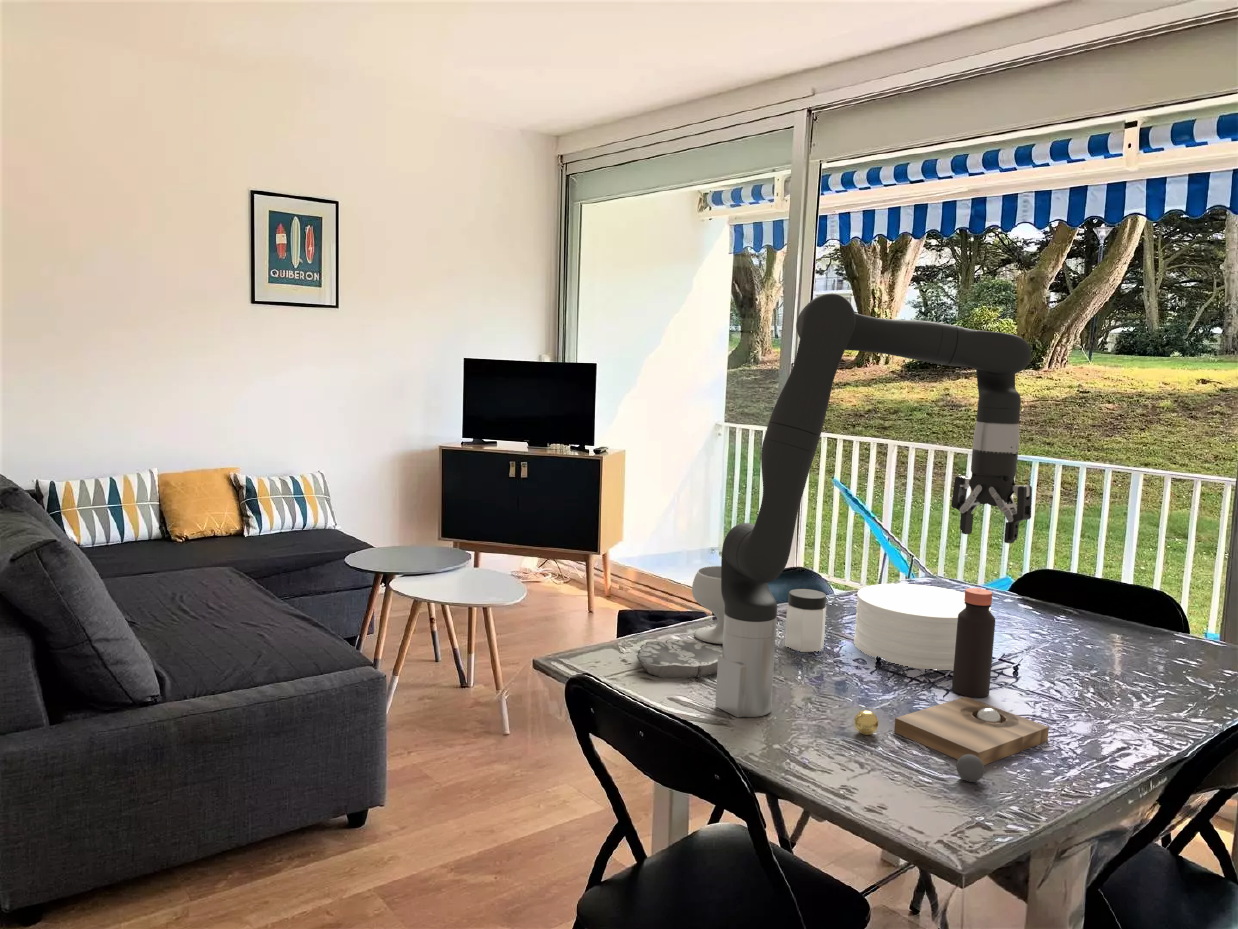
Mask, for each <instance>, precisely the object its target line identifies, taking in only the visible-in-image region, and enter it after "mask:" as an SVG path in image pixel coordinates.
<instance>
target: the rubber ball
mask: <svg viewBox="0 0 1238 929" xmlns="http://www.w3.org/2000/svg"><path fill="white" fill-rule="evenodd" d="M956 772H957V774H958V776H959V777H960V779H963V781H966V782H968V783H975V782H978V781H980V780H981V779H982V778H983V776H984V774H985V765H984V764H983V762H982V761H981V760H980V759H979V758H978V757H977V756H975V755H972V754H966V755H963V756H962V757H960V758H959V760H958V759H957V761H956Z"/></svg>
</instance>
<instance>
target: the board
mask: <svg viewBox="0 0 1238 929" xmlns="http://www.w3.org/2000/svg"><path fill="white" fill-rule="evenodd" d="M983 708H992V709H994V710H996V711H997V712H998V713H999V715H1000V717H1001V723H991V722H985V721H982V720H979V719H977V718H976V716H977V713H978V712H979V711H980V710H981V709H983ZM893 730H894V731H893V732H894V733H896V734H898V735H901V736H903V737H905V738H907V739H910V740H912V741H913V742H917V743H919V744H921V745H922V746H923V745H924V746H926V747H928V748H930V749H933V750H935V751H938V752H940V753H942V754H944V755H947V756H948V757H951V758H953V759H956V760H957V761H958V760H959V758H960V757H962V756H963V755H966V754H972V755H975V756H977V757H978V758H979V759H980V760H981V761H982V762H983V764H984V766H986V765H988V764H990V763H993V762H997V761H1000V760H1002V759H1005V758H1006V757H1010V756H1012V755H1014V754H1017V753H1019V752H1023V751H1026V750H1028V749H1030V748H1033V747H1036V746H1039V745H1041V744H1043V743H1047V742H1048V740H1049V730H1050V726H1047V725H1045V724H1042V723H1039V722H1036V721H1034V720H1031V719H1028V718H1026V717H1022V716H1020V715H1018V714H1015V713H1012V712H1010V711H1006V710H1004V709H1001V708H998V707H996V706H993V705H990V704H988V703H985V702H982V701H979V700H977V699H975V698H972V697H966V696H963V697H960V698H957V699H953V700H949V701H947V702H943V703H940V704H937V705H934V706H930V707H927V708H924V709H921V710H916V711H913V712H911V713H907V714H904V715H900V716H897V717H895V718H894V729H893Z"/></svg>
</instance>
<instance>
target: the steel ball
mask: <svg viewBox="0 0 1238 929" xmlns="http://www.w3.org/2000/svg"><path fill="white" fill-rule="evenodd" d="M976 718H977V719H979V720H982V721H985V722H991V723H1001V717H1000V715H999V713H998V712H997V711H996V710H994V709H992V708H983V709H981V710H980V711H979V712H978V713H977V716H976Z"/></svg>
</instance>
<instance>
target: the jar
mask: <svg viewBox="0 0 1238 929" xmlns="http://www.w3.org/2000/svg"><path fill="white" fill-rule="evenodd" d="M787 599H788V600H787V605H786V616H785V617H786V619H785V635H784V647H785V646H786V647H785V648H787V647H789V648H788V649H790V648H791V650H793V651H796V650H798V651H797V652H799V651H800V653H820V652H821V651H822V649H823V648H824V645H825V644H824V643H825V630H826V614H827V595H826V593H824V592H822V591H819V590H815V589H809V588H808V589H807V588H796V589H791V590H789V592H788V597H787ZM814 651H816V652H814ZM818 651H819V652H818Z"/></svg>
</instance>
